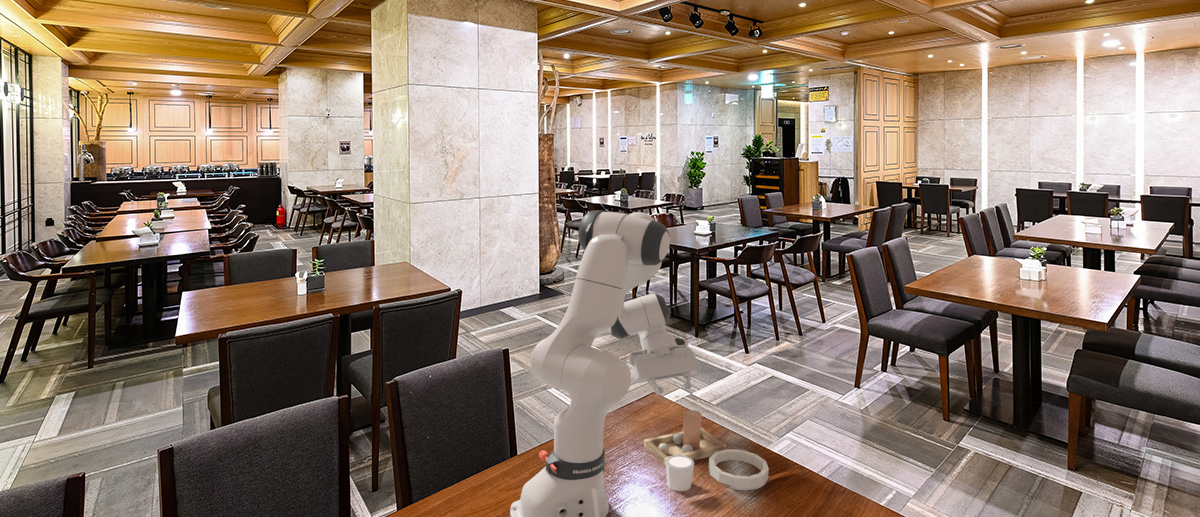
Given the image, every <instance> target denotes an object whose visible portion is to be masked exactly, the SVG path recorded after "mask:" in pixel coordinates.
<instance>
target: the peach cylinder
mask: <svg viewBox="0 0 1200 517" xmlns="http://www.w3.org/2000/svg"><path fill="white" fill-rule="evenodd" d="M682 418H683V419H682V421H683V422H682V431H683V441H682V447H683V446H684V445H685V444H690V445H691V446H692V447H693V451H695V450H699V449H700V435H701V427H702V413H701V412H700V411H698V410H694V409H689V410H685V411H683V417H682Z"/></svg>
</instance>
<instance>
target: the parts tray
mask: <svg viewBox="0 0 1200 517" xmlns="http://www.w3.org/2000/svg"><path fill="white" fill-rule="evenodd" d="M675 434H681V435H682V436H683V430H682V431H677V432H673V433H668V434H663V435H658V436H655V437H651V438H650V437H649V438H645V439H643V448H645V449H646V450H647V451H648V452H649V453H650V454H651V455H652V456H653V457H654V458H655V459H657V461H659V462H660V463H661V464H662V465H663V466H664V467H666V459H667V458H668V457H670V456H673V455H683V456H687V457H689V458H691V459H692V460H693V461H698V460H702V459H705V458H710V457H711V456H712V455H713V454H714V453H715V452H718V451H722V450H726V449H728V446H727V444H725V443H724V442H723V441H721V440H720V439H718V438H717V437H716V436H714V435H713V434H712V433H710V432H709V431H707V430H706V429H705V428H703V427H702V426H701V435H700V449H699V450H695V451H691V452H686V453H683V452H682V444H680V445H677V444H675V443H674V442H673V436H674V435H675ZM661 443H665V444H667V445H668V446H669V452H668V453H667V454H664V453H663V452H662V451H661V450H660V449H659V448H658V446H659V445H660V444H661Z"/></svg>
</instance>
